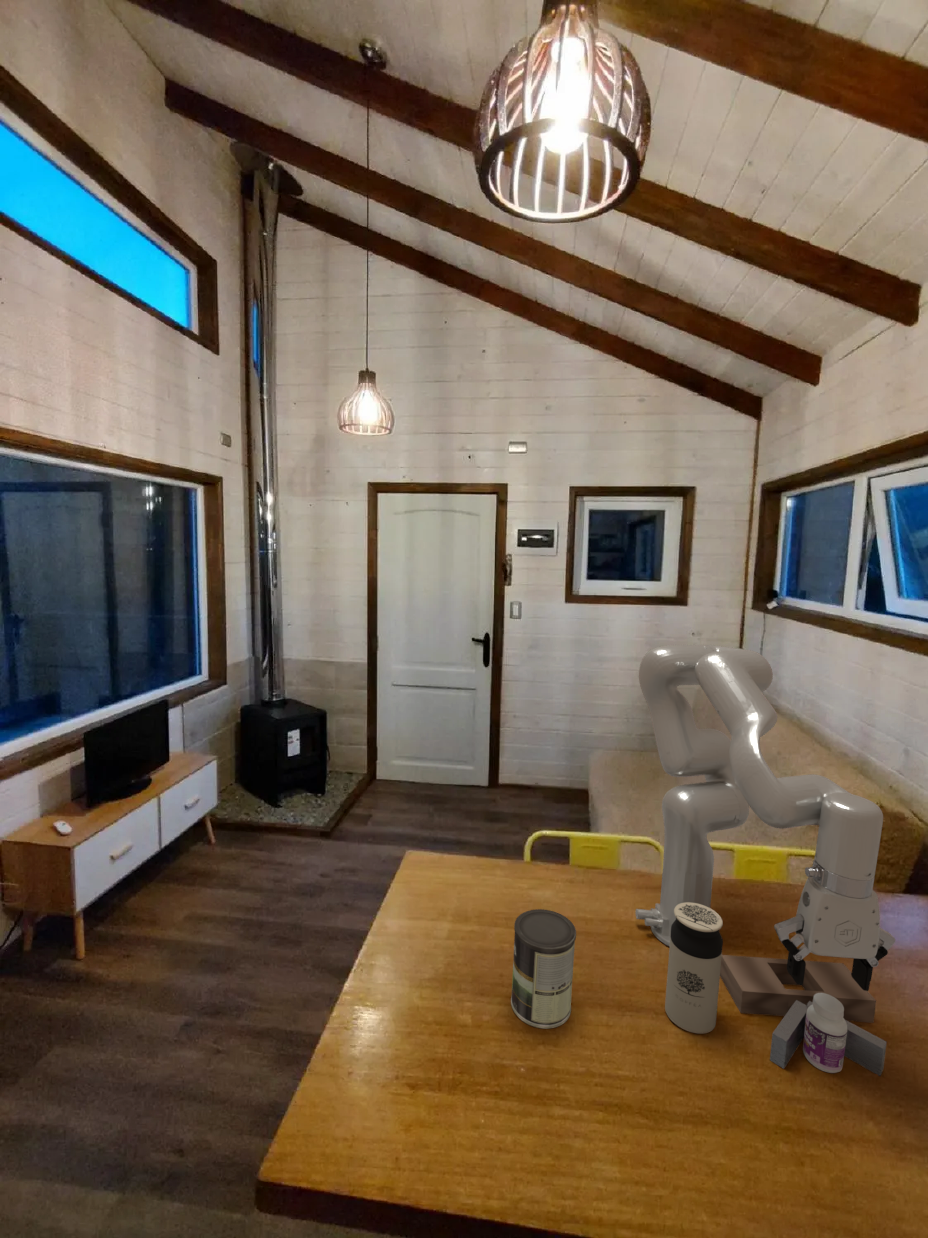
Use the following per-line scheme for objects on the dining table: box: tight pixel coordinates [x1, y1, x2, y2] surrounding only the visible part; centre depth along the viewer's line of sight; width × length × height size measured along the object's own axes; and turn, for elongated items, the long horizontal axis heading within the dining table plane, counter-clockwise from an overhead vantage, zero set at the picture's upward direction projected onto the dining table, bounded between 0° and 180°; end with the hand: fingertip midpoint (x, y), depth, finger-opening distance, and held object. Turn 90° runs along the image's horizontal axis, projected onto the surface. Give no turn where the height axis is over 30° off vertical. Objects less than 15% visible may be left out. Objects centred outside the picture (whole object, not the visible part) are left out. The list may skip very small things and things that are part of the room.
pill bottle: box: [802, 993, 847, 1074], centre depth 87 cm, size 5×5×10 cm
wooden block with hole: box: [720, 954, 877, 1024], centre depth 100 cm, size 22×9×4 cm, turn 87°
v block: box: [769, 1000, 888, 1077], centre depth 90 cm, size 17×9×4 cm, turn 87°
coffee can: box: [510, 908, 577, 1030], centre depth 96 cm, size 10×10×14 cm
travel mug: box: [664, 902, 724, 1034], centre depth 95 cm, size 8×8×18 cm
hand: (827, 981), depth 87 cm, fingers open, 9 cm apart
